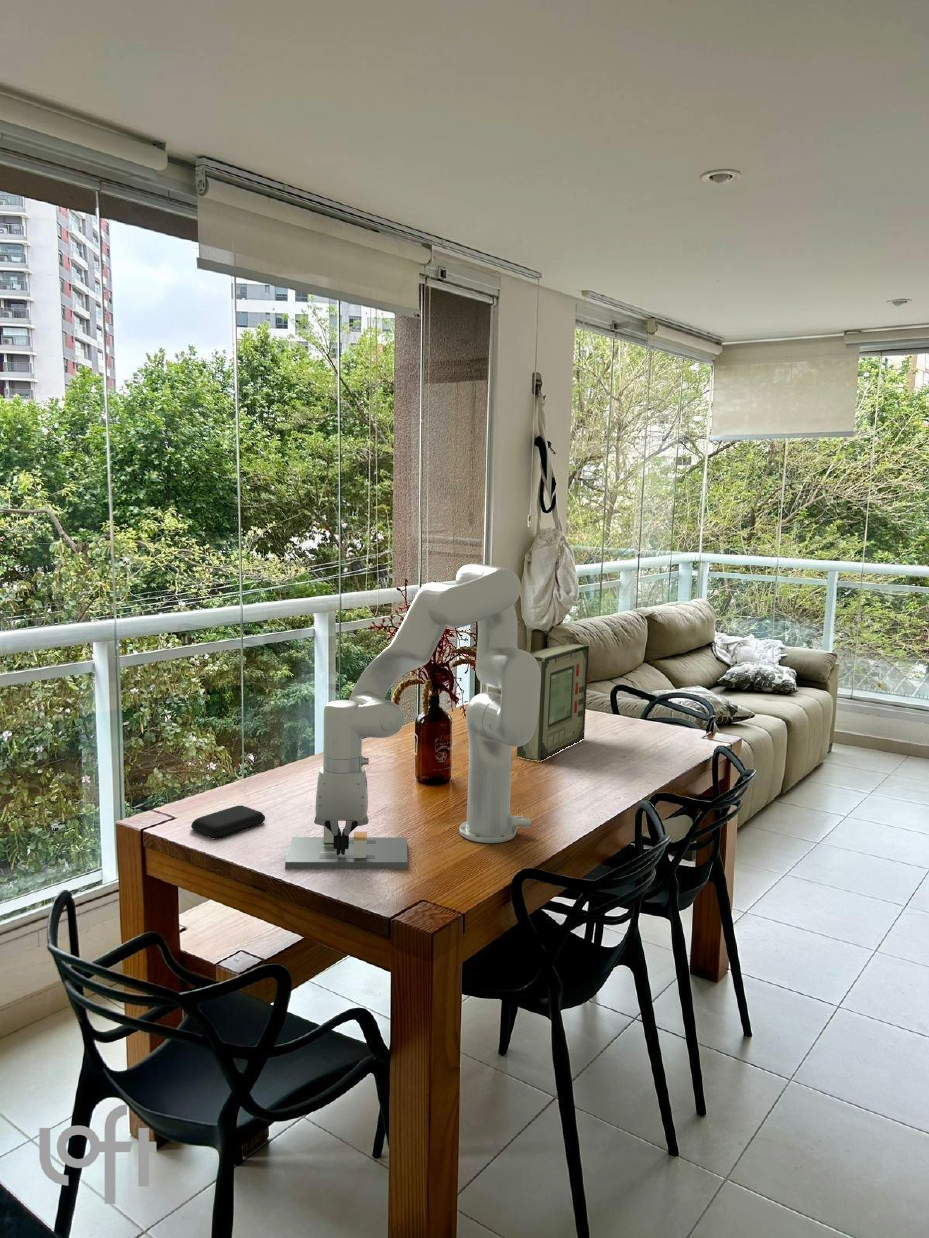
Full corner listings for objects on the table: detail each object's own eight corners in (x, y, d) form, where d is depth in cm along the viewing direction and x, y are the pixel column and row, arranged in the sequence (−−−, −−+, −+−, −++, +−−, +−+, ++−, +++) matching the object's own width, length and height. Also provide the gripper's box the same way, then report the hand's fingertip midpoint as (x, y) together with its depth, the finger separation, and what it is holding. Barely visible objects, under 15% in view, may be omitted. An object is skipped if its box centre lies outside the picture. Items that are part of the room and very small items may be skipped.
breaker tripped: (366, 851, 183) (367, 831, 182) (366, 858, 180) (366, 837, 179) (353, 851, 183) (354, 831, 182) (353, 858, 180) (353, 837, 179)
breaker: (336, 837, 190) (337, 817, 190) (335, 842, 187) (336, 822, 187) (324, 836, 190) (324, 817, 189) (323, 842, 187) (323, 822, 186)
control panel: (540, 763, 255) (544, 658, 251) (516, 758, 259) (521, 655, 255) (583, 740, 280) (588, 645, 276) (562, 736, 284) (566, 642, 280)
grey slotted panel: (406, 844, 193) (406, 837, 192) (407, 869, 180) (407, 861, 179) (292, 843, 191) (292, 836, 190) (285, 869, 178) (285, 861, 178)
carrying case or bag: (238, 813, 208) (184, 830, 197) (238, 800, 208) (184, 817, 196) (269, 824, 202) (215, 843, 190) (269, 811, 202) (215, 829, 190)
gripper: (380, 758, 183) (379, 845, 185) (306, 757, 181) (305, 844, 184) (379, 769, 175) (378, 859, 178) (302, 768, 174) (301, 859, 177)
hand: (341, 851), depth 181 cm, fingers closed
